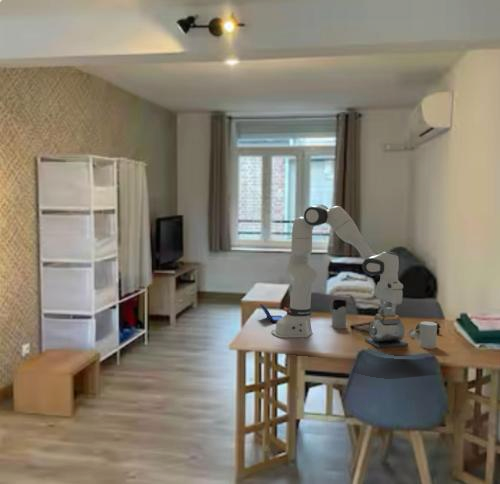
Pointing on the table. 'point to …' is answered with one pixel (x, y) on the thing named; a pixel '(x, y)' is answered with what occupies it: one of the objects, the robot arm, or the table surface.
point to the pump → (386, 312)
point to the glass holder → (338, 314)
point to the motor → (386, 332)
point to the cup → (428, 335)
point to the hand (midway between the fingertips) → (387, 309)
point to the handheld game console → (272, 318)
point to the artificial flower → (417, 333)
